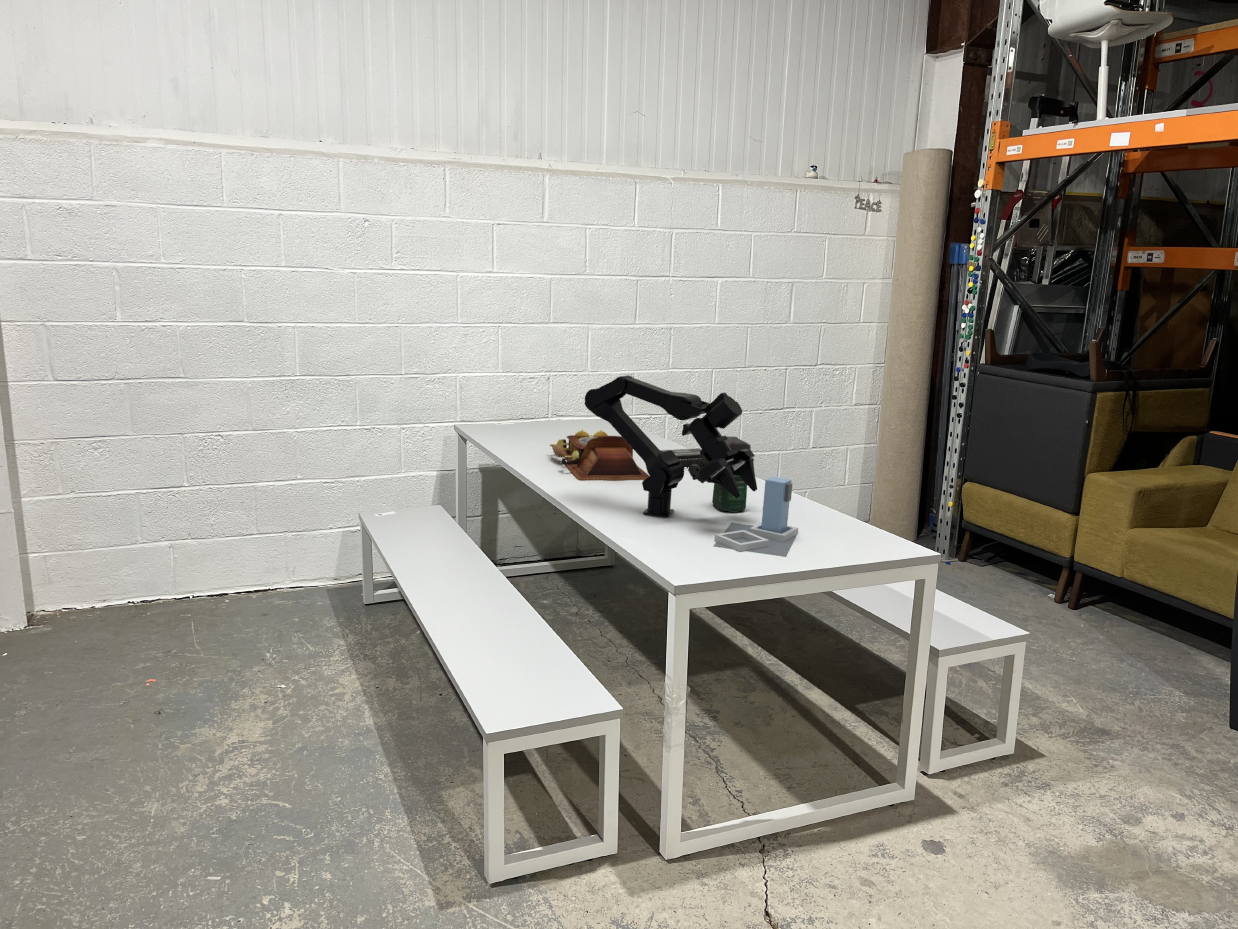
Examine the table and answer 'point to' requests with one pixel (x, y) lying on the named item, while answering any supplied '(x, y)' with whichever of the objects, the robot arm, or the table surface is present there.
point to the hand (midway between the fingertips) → (747, 494)
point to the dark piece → (688, 456)
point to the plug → (776, 504)
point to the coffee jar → (722, 496)
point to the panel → (767, 550)
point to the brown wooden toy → (598, 457)
